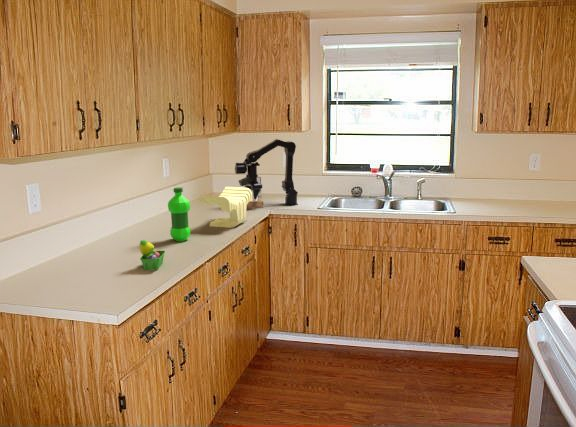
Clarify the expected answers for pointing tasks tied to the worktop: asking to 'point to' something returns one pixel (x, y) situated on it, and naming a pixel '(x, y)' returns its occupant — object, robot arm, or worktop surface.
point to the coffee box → (260, 190)
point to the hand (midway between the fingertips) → (252, 198)
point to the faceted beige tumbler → (253, 197)
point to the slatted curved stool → (230, 205)
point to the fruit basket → (150, 256)
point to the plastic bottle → (179, 216)
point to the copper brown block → (255, 204)
